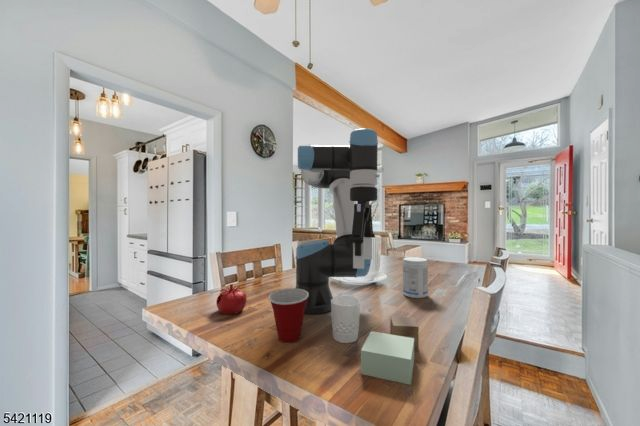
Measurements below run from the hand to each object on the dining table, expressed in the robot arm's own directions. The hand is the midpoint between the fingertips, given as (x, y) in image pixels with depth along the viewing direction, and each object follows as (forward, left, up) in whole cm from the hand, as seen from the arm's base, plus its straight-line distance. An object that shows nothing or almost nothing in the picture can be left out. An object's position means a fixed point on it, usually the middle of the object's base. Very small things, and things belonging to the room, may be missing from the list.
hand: (363, 263), depth 79 cm
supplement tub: (+11, +43, -20) cm, 48 cm away
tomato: (-46, +1, -20) cm, 50 cm away
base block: (+9, -14, -20) cm, 26 cm away
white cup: (-4, -4, -20) cm, 21 cm away
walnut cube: (+11, -2, -20) cm, 23 cm away
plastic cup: (-18, -10, -20) cm, 29 cm away
